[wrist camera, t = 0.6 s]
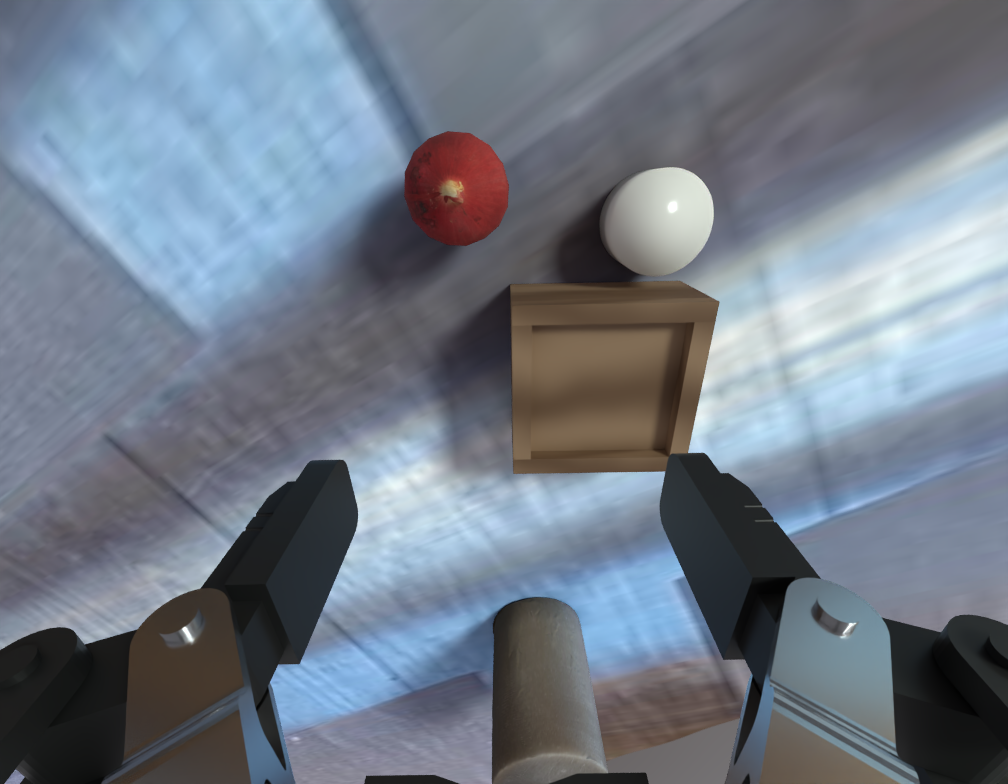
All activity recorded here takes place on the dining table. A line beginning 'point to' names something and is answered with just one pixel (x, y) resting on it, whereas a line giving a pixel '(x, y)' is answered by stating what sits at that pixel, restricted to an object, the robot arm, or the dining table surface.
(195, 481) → the dining table surface
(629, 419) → the brown open square tray
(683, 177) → the white rounded pebble
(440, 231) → the onion
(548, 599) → the pillar candle
